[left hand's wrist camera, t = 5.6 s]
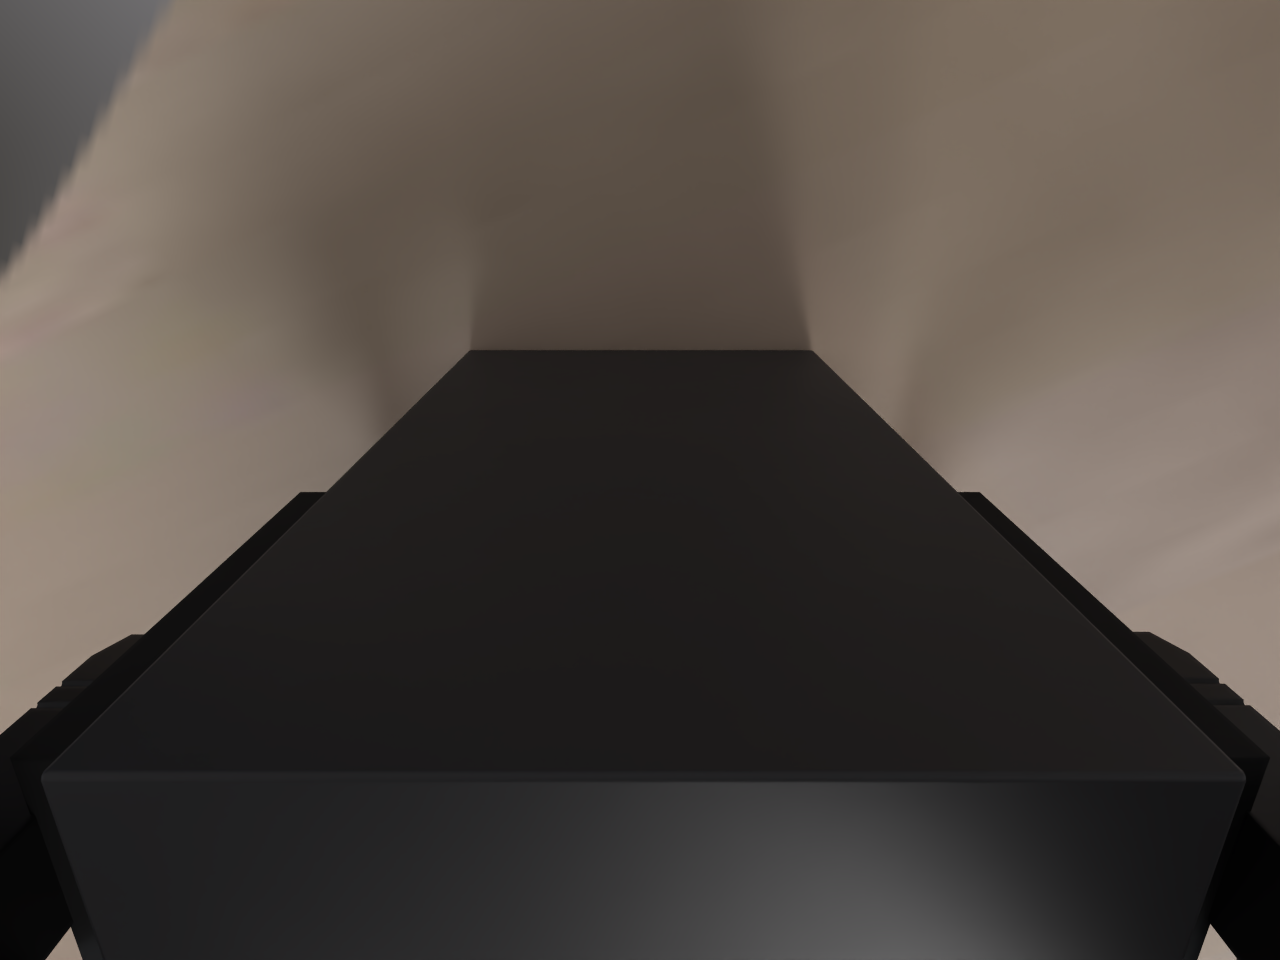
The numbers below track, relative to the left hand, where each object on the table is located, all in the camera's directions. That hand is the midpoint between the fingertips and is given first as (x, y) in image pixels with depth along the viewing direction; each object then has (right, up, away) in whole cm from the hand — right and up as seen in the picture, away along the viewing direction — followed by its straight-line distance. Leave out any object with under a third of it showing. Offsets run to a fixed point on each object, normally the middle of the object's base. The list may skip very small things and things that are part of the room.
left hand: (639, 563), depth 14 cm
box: (0, -8, +7) cm, 10 cm away
